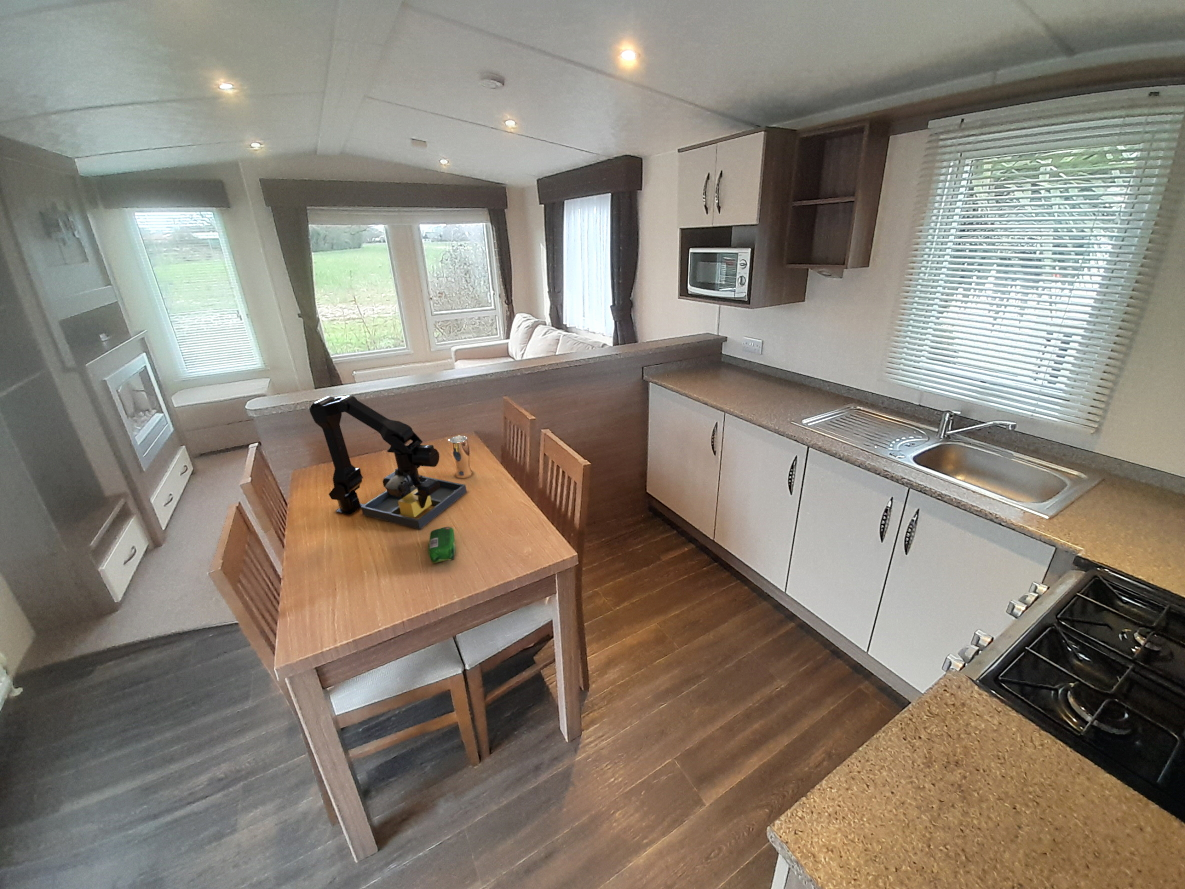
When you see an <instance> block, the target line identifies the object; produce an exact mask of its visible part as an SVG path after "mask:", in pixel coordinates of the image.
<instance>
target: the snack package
mask: <svg viewBox="0 0 1185 889" xmlns="http://www.w3.org/2000/svg"><path fill="white" fill-rule="evenodd" d="M455 538H456V537H455V532H454V528H453V527H452V526H444V527H443V526H442V527H440V528H435V529H433V530H431V531H430V533H429V540H428V555H429V559H430V562H432V563H434V564H436V563H437V564H438V563H441V562H445V561H449V560H450V561H454V560H455V553H456V543H455V540H456V539H455Z"/></svg>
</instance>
